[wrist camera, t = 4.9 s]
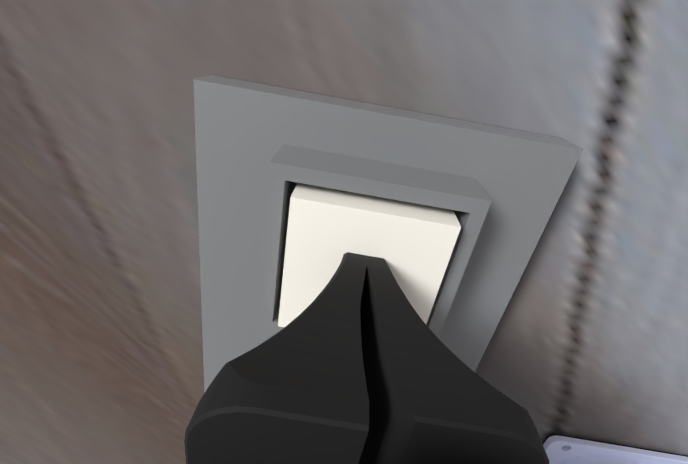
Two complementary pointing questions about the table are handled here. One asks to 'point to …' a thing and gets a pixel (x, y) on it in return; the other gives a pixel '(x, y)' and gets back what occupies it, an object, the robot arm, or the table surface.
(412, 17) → the table surface
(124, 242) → the table surface
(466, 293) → the stepped grey tray
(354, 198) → the cream key
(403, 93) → the table surface
